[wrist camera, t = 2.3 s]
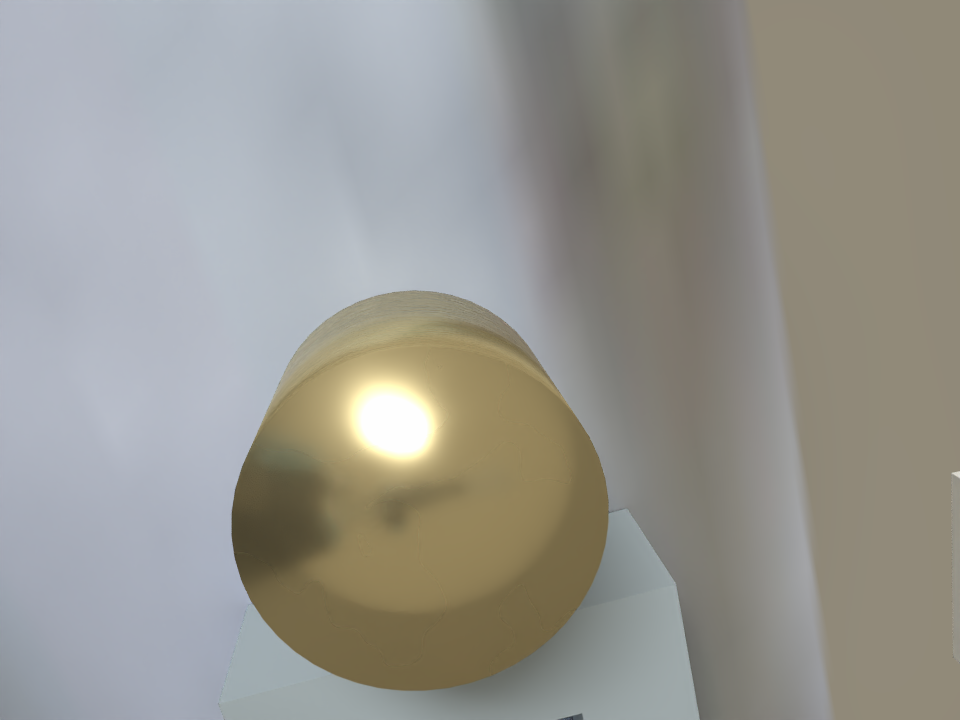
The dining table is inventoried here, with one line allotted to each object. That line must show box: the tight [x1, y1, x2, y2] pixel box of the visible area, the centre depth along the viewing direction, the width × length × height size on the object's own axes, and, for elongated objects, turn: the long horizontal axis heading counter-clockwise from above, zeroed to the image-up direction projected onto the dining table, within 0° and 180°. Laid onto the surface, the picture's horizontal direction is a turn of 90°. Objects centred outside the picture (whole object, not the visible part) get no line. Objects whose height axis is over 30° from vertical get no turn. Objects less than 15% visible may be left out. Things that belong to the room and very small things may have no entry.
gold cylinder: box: [232, 291, 609, 691], centre depth 19 cm, size 6×6×10 cm
